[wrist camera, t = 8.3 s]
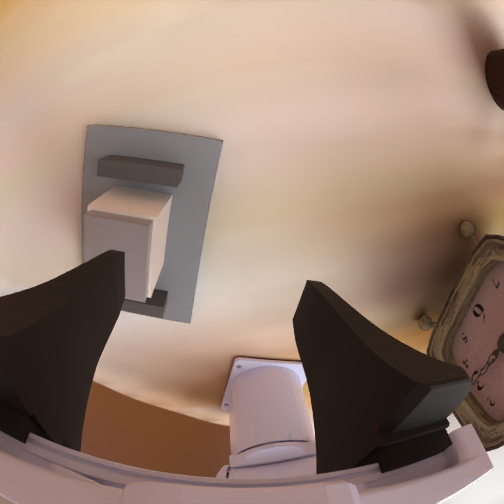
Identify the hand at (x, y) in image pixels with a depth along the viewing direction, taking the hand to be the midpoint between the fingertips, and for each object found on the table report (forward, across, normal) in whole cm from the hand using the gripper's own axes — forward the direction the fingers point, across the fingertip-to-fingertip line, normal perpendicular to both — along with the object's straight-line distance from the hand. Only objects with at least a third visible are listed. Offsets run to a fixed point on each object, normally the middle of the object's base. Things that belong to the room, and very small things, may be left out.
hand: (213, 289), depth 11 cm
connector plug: (+8, +5, +2) cm, 10 cm away
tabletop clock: (+10, -25, +2) cm, 27 cm away
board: (+9, +5, +2) cm, 11 cm away
